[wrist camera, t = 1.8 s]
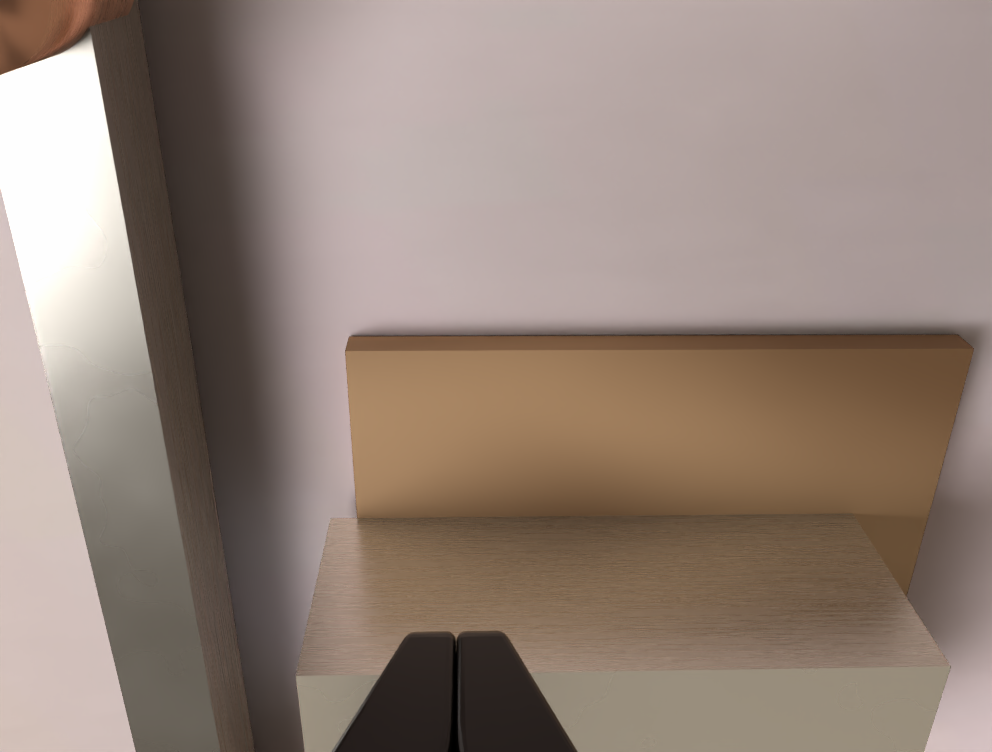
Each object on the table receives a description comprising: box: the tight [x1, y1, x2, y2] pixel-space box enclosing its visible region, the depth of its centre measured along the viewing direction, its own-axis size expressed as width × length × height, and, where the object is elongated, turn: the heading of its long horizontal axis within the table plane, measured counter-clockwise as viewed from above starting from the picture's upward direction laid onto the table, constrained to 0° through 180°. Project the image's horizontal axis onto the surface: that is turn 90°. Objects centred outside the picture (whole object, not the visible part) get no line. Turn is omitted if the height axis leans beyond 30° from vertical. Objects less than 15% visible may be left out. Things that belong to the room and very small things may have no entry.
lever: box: [0, 0, 255, 752], centre depth 16 cm, size 21×2×4 cm, turn 179°
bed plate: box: [345, 335, 974, 596], centre depth 19 cm, size 12×11×1 cm
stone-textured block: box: [296, 513, 951, 752], centre depth 17 cm, size 5×10×4 cm, turn 89°
